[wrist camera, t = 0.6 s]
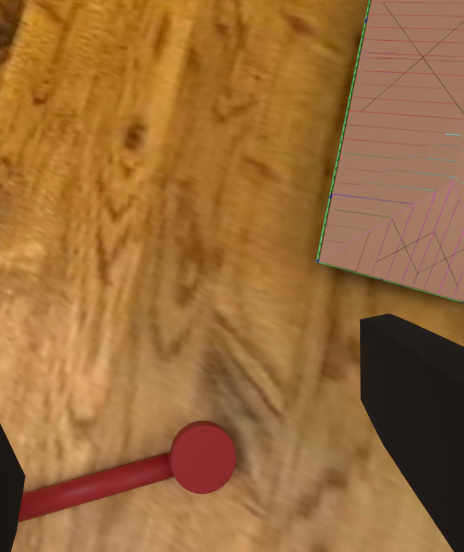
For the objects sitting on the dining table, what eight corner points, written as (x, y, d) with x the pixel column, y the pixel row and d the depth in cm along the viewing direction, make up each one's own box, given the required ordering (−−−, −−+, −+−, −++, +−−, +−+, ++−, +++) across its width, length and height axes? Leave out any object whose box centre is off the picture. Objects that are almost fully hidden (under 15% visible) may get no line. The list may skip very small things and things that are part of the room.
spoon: (224, 413, 32) (228, 417, 30) (237, 475, 32) (242, 482, 30) (0, 474, 29) (-10, 482, 27) (11, 543, 29) (2, 556, 27)
